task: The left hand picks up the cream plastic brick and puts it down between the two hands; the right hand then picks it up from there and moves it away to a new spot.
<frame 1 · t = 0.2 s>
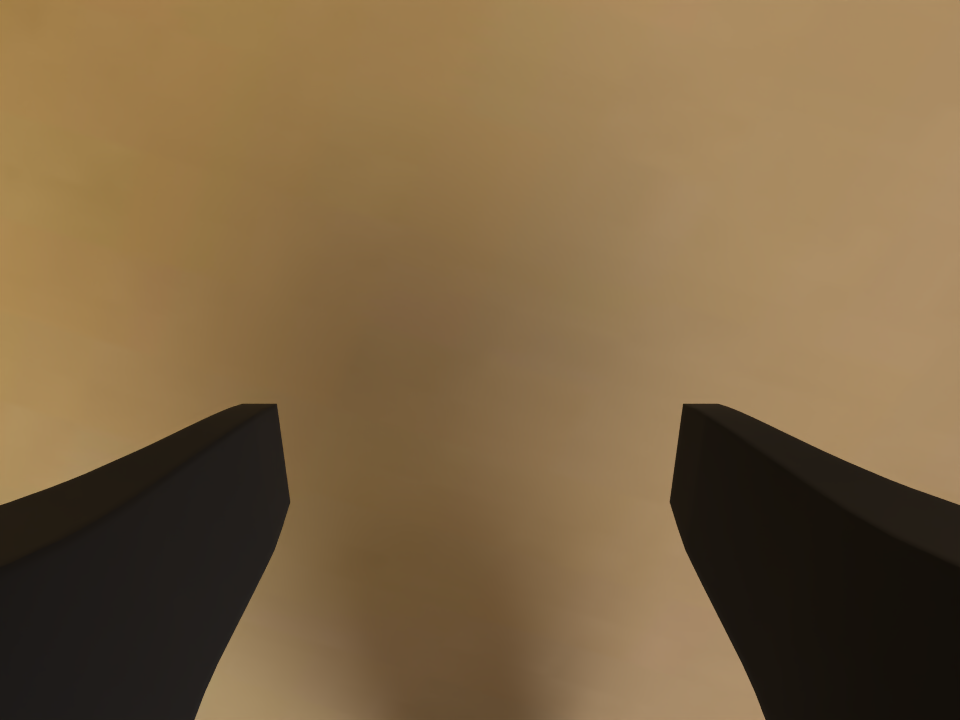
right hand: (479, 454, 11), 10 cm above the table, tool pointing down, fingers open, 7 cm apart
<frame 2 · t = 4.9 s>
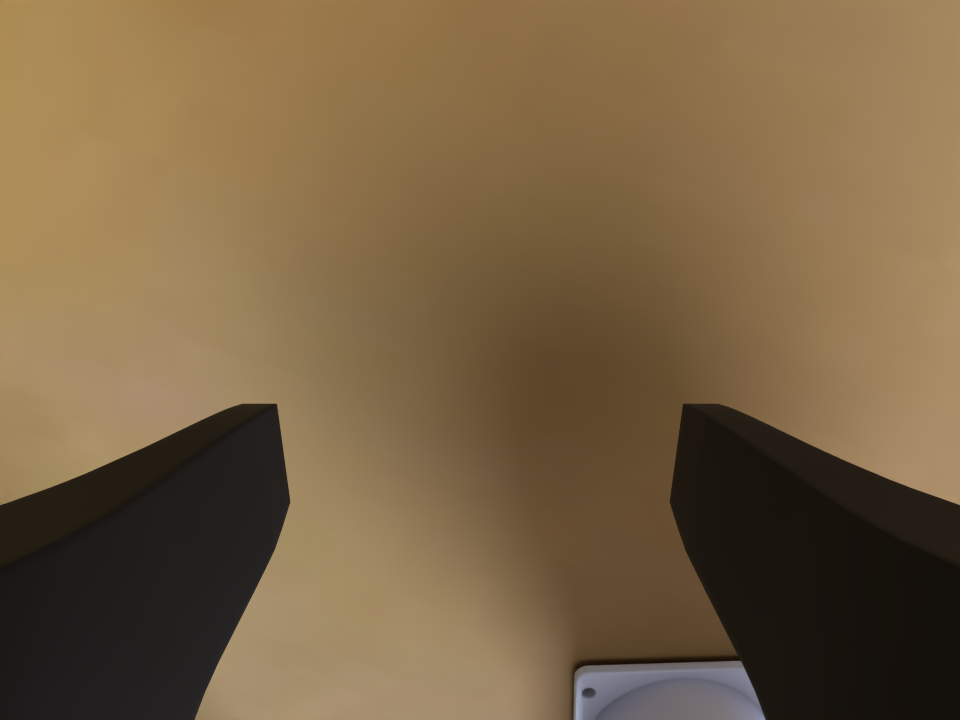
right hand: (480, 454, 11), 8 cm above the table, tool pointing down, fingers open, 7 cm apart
when the left hand's fingers open (0 cm above the table, at t = 9.0 s): brick stays where it is, on the table.
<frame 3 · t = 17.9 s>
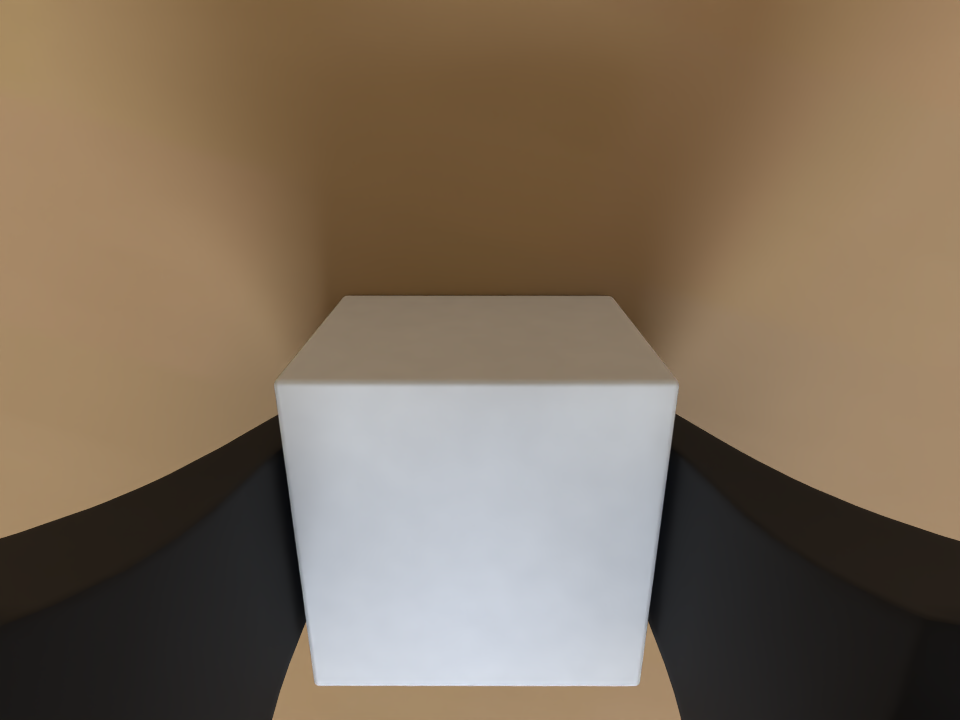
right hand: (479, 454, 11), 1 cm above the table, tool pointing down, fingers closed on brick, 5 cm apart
brick: (478, 418, 12), on the table, touching right hand
when the right hand's fingers open (2 cm above the table, at t = 23.6 s): brick drops 1 cm, on the table.
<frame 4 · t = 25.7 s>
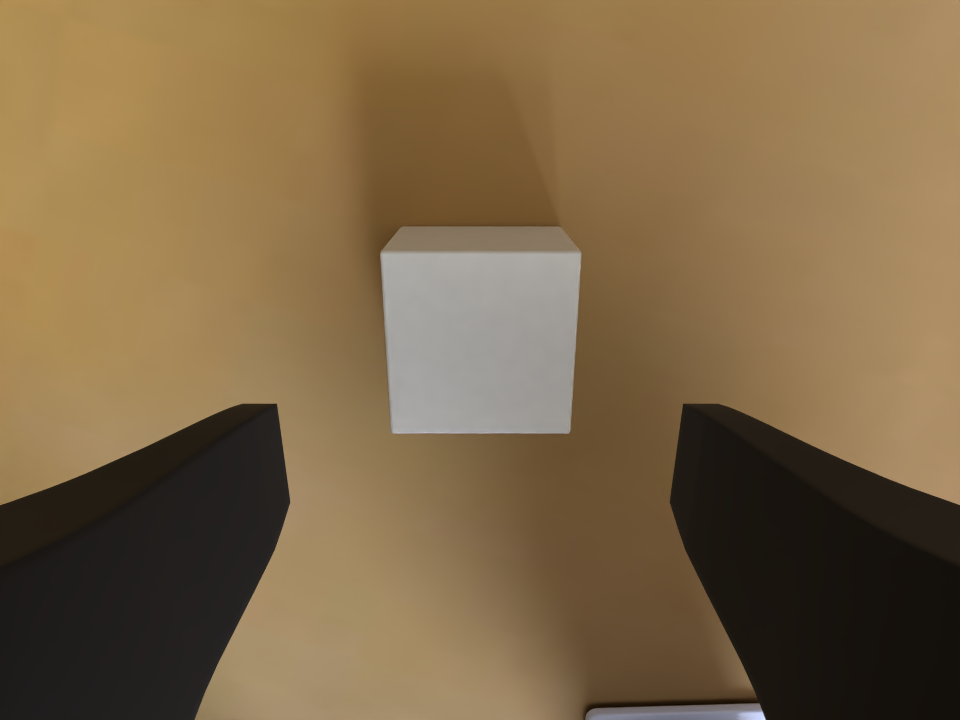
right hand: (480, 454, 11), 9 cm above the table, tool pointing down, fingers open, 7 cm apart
brick: (480, 305, 19), on the table
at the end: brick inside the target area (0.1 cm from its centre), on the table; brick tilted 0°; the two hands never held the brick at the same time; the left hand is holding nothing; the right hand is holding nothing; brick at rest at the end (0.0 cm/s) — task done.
